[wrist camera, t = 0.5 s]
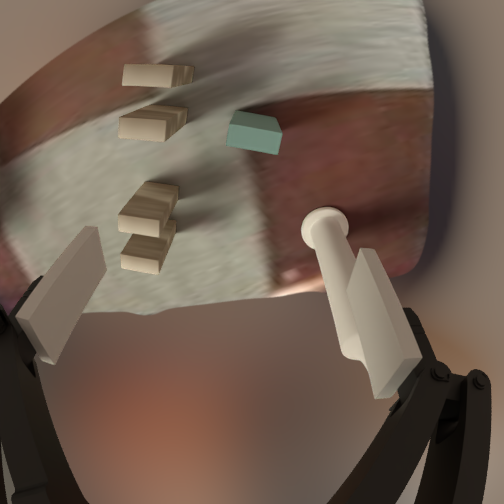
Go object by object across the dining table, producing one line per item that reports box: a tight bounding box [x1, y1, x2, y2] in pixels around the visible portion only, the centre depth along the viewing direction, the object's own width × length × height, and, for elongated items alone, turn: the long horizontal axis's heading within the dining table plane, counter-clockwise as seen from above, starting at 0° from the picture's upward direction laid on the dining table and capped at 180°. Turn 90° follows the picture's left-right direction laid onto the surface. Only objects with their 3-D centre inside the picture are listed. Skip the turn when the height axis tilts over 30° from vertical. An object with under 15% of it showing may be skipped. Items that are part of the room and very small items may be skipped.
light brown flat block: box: [120, 219, 176, 275], centre depth 39 cm, size 2×5×10 cm, turn 79°
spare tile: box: [226, 110, 283, 155], centre depth 31 cm, size 2×5×10 cm, turn 80°
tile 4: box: [118, 182, 179, 237], centre depth 36 cm, size 2×5×10 cm, turn 79°
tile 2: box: [118, 105, 188, 142], centre depth 30 cm, size 2×5×10 cm, turn 79°
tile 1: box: [122, 64, 194, 88], centre depth 27 cm, size 2×5×10 cm, turn 79°
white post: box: [301, 207, 368, 370], centre depth 33 cm, size 7×7×25 cm
